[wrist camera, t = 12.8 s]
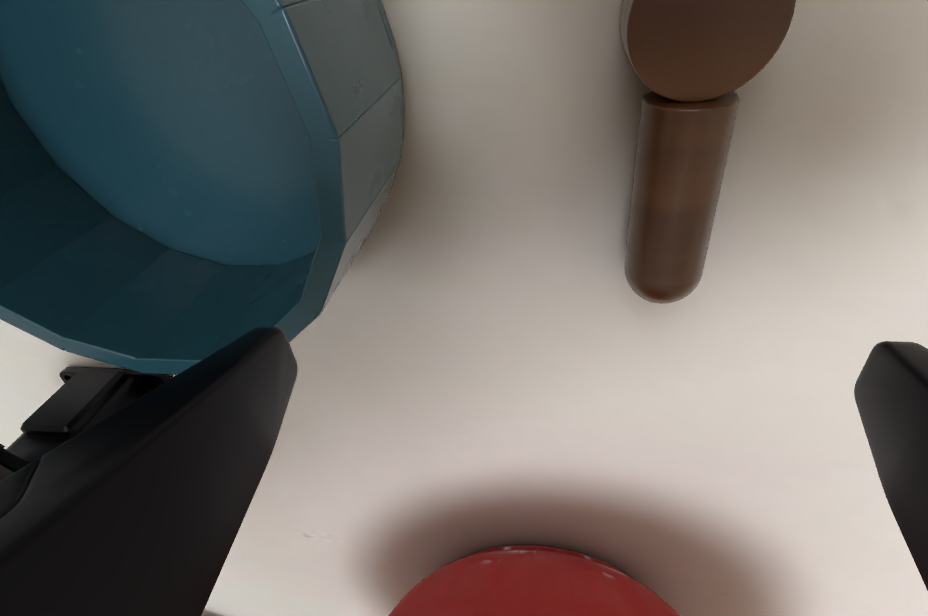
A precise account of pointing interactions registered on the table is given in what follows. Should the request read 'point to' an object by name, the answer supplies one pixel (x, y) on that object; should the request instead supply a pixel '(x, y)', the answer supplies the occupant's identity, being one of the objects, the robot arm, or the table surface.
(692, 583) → the table surface
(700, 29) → the wooden spoon
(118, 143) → the pot
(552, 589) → the mixing bowl
